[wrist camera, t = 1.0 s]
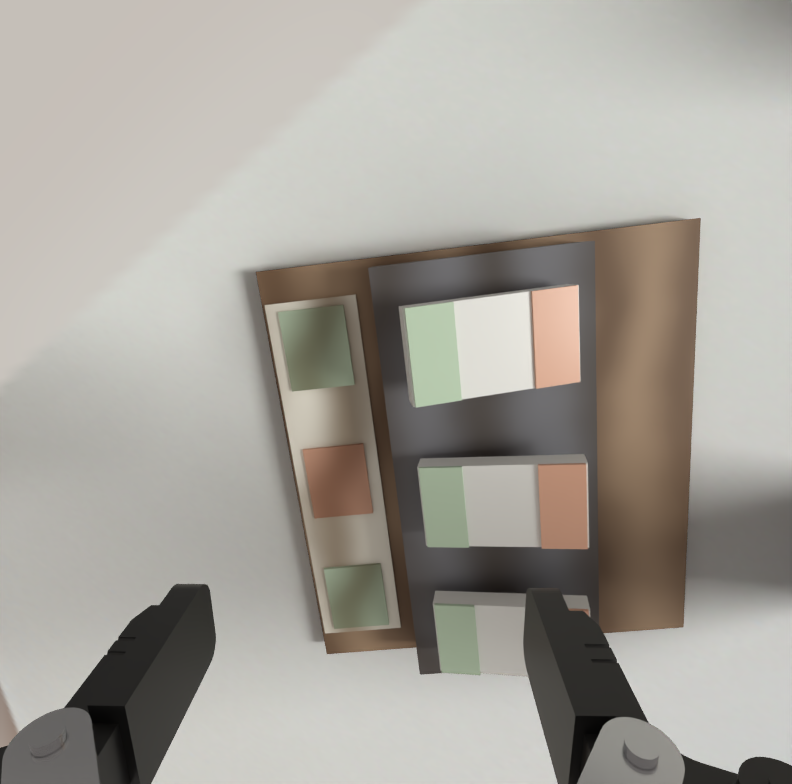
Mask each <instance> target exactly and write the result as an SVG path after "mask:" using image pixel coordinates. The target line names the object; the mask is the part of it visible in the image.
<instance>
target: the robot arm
mask: <svg viewBox="0 0 792 784" xmlns="http://www.w3.org/2000/svg"><path fill="white" fill-rule="evenodd" d="M215 643H216V634H215V626H214V619H213V611H212V603H211V596H210V590H209V587H208V586H207V585H206V584H176V585H174V586H173V587H172V588H171V590H170V591H169V593H168V594H167V595H166V597H165V598H164V600H163V601H162V602H161V604H160V605H151V606H150V607H148V608H147V609H146V610H144V611H143V612H142V613H140V614H139V615H138V616H136V617H135V618H134V619H132V620H131V622H130V623H129V624H128V625H127V627H126V628H125V629H124V631H123V632H122V633H121V635H120V636H119V639H118V641H115V642H114V644H113V645H112V646H111V648H110V649H109V650H108V653H107V655H104V657H103V658H102V659H101V661H100V662H99V663H98V665H97V666H96V667H95V668H94V670H93V671H92V672H91V674H90V675H89V676H88V678H87V679H86V680H85V681H84V683H83V684H82V685H81V687H80V688H79V689H78V691H77V692H76V693H75V694H74V696H73V697H72V698H71V700H70V701H69V702H68V704H67V705H66V706H65V708H63V709H59V710H55V711H52V712H50V713H47V714H45V715H43V716H41V717H39V718H38V719H36V720H34V721H33V722H31V723H30V724H28V725H27V726H26V727H25V728H23V729H22V730H21V731H20V732H19V733H18V734H17V735H16V736H15V737H14V738H13V739H12V741H11V742H10V743H9V745H8V746H5V747H1V748H0V784H151V783H152V781H153V779H154V777H155V775H156V772H157V770H158V768H159V766H160V764H161V762H162V760H163V758H164V756H165V754H166V752H167V750H168V748H169V746H170V744H171V742H172V740H173V738H174V736H175V734H176V732H177V730H178V728H179V726H180V724H181V722H182V720H183V718H184V716H185V714H186V712H187V710H188V708H189V706H190V704H191V702H192V700H193V698H194V696H195V694H196V692H197V690H198V687H199V685H200V683H201V681H202V679H203V677H204V675H205V673H206V671H207V669H208V667H209V665H210V663H211V661H212V658H213V654H214V650H215ZM523 650H524V659H525V665H526V669H527V673H528V677H529V680H530V684H531V688H532V691H533V695H534V699H535V702H536V706H537V709H538V713H539V717H540V720H541V724H542V728H543V731H544V735H545V739H546V742H547V746H548V749H549V753H550V757H551V760H552V764H553V768H554V771H555V775H556V778H557V782H558V784H792V766H791V765H789V764H787V763H784V762H782V761H779V760H776V759H772V758H766V757H754V758H750V759H748V760H746V761H744V762H743V763H742V765H741V766H740V768H739V772H738V774H735V773H732V772H729V771H726V770H722V769H719V768H716V767H713V766H709V765H706V764H703V763H700V762H697V761H695V760H692V759H690V758H688V757H686V756H684V755H682V754H681V753H680V751H679V750H678V748H677V747H676V745H675V744H674V743H673V742H672V740H671V739H670V738H669V737H668V736H667V735H665V734H664V733H663V732H662V731H661V730H659V729H658V728H656V727H655V726H653V725H651V724H649V723H648V721H647V719H646V717H645V715H644V713H643V711H642V709H641V707H640V705H639V703H638V701H637V699H636V697H635V695H634V693H633V691H632V689H631V687H630V685H629V683H628V681H627V679H626V677H625V675H624V673H623V671H622V669H621V667H620V665H619V663H617V659H616V657H615V655H614V653H613V651H612V650H611V648H609V644H608V642H607V640H606V638H605V636H604V634H603V632H602V630H601V628H600V626H599V625H598V624H597V623H596V622H595V621H594V620H593V619H592V618H590V617H589V616H588V615H587V614H586V613H585V612H584V611H569V609H568V607H567V604H566V602H565V600H564V598H563V595H562V593H561V591H560V590H559V589H558V588H528V589H527V592H526V604H525V619H524V635H523Z"/></svg>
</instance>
